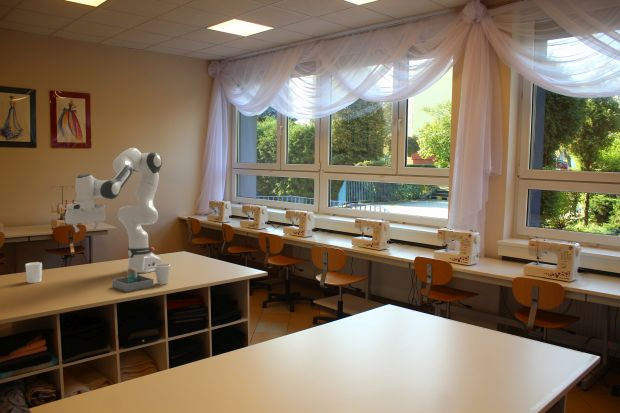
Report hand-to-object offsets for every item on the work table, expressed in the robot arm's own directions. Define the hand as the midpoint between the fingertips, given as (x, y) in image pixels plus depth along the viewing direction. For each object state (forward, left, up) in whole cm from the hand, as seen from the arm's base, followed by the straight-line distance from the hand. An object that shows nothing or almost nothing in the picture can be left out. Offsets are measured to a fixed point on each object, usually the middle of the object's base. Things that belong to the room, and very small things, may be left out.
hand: (86, 230), depth 265 cm
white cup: (+18, -26, -29) cm, 43 cm away
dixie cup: (-28, +28, -29) cm, 49 cm away
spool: (-13, +24, -28) cm, 39 cm away
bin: (-13, +24, -29) cm, 39 cm away
